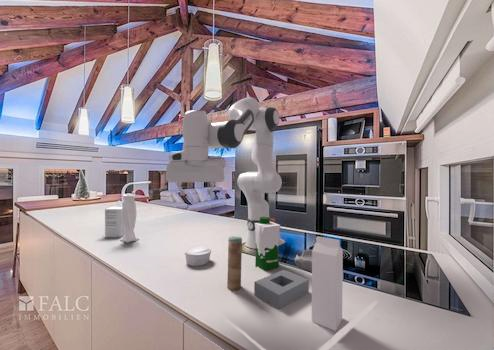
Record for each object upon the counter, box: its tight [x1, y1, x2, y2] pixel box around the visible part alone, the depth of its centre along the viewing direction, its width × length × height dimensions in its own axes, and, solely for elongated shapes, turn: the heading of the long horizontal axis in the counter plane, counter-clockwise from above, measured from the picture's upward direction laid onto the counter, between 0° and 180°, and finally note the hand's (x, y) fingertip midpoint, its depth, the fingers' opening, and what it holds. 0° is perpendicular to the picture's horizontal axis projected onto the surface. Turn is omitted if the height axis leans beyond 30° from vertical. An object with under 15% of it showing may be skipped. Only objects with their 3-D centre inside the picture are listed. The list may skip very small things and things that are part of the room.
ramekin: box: [184, 245, 212, 267], centre depth 100 cm, size 11×11×5 cm
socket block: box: [253, 269, 310, 310], centre depth 72 cm, size 14×10×5 cm
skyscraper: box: [119, 190, 140, 244], centre depth 130 cm, size 8×8×28 cm
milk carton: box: [254, 217, 281, 272], centre depth 94 cm, size 9×9×20 cm
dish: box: [294, 249, 313, 273], centre depth 96 cm, size 14×14×5 cm
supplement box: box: [104, 206, 124, 238], centre depth 142 cm, size 10×9×17 cm
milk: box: [311, 235, 344, 332], centre depth 60 cm, size 6×6×22 cm
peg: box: [226, 236, 243, 291], centre depth 76 cm, size 4×4×17 cm
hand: (196, 195), depth 83 cm, fingers open, 8 cm apart
